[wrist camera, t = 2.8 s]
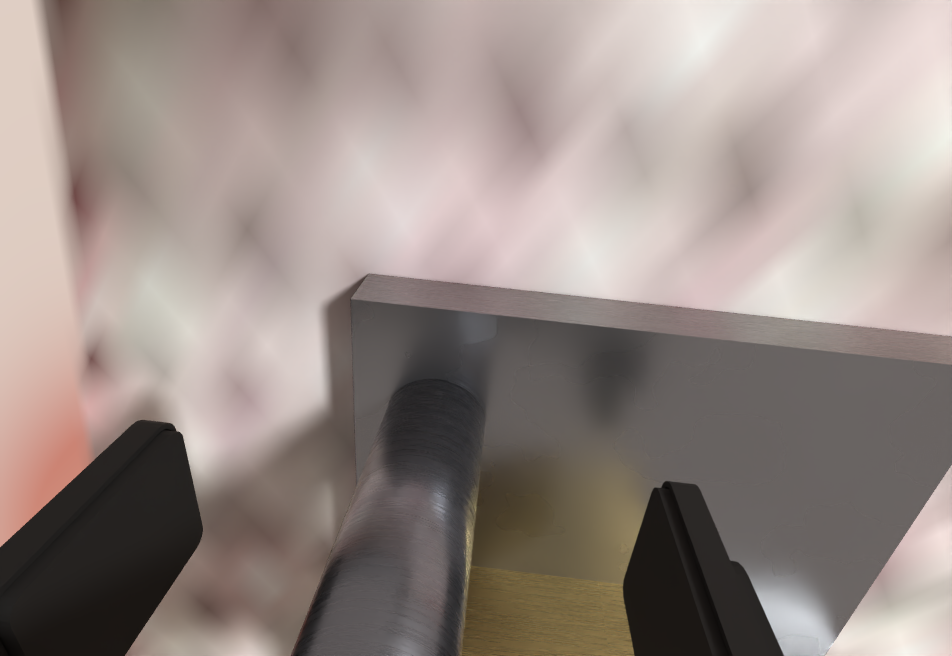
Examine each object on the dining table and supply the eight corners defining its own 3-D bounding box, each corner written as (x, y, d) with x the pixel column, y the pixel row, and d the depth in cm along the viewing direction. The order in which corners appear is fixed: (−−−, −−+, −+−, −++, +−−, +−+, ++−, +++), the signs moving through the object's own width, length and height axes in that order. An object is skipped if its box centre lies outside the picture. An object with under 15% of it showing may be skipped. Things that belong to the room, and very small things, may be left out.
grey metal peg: (386, 373, 12) (195, 818, 5) (489, 384, 12) (443, 855, 5) (386, 453, 13) (228, 910, 6) (480, 464, 13) (431, 940, 6)
